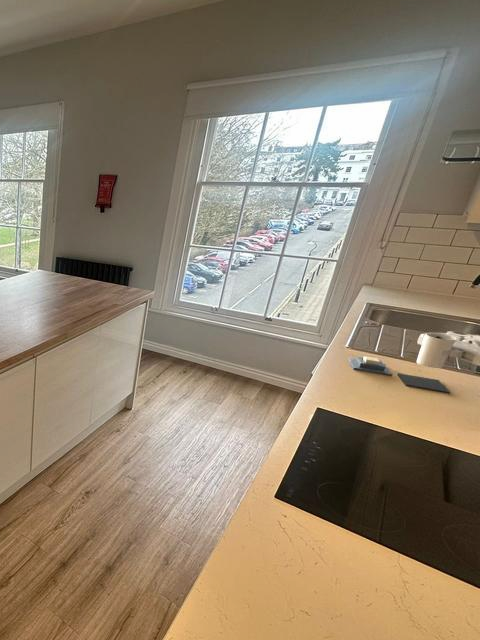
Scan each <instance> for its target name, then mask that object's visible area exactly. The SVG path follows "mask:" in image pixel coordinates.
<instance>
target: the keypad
mask: <svg viewBox="0 0 480 640" xmlns="http://www.w3.org/2000/svg"><path fill="white" fill-rule="evenodd" d="M363 358H364V357H361V356H356V358H350V357H348V358H347V361H348V363H349V365H350V367H351V368H352V370H353V371H358V372H362V373H363V372H364V373H370V374H374V375H381V376H386V377H387V376H388V377H393V373H392V372H391V371H390V369H389V367H387V365H386V364H385V363H384V362H382V360H380V359H379V361H380V363H379V365H376V364H370V363H365V362H364V361H363Z"/></svg>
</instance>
